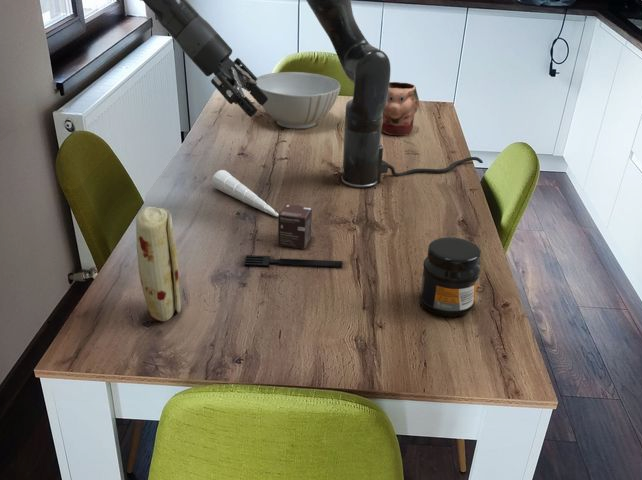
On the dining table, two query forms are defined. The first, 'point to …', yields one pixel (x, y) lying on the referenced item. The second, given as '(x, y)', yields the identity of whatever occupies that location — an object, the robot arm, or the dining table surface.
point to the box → (294, 226)
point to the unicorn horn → (239, 191)
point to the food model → (158, 262)
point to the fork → (289, 262)
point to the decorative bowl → (298, 97)
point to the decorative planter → (400, 108)
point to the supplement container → (450, 276)
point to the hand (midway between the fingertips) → (260, 108)
